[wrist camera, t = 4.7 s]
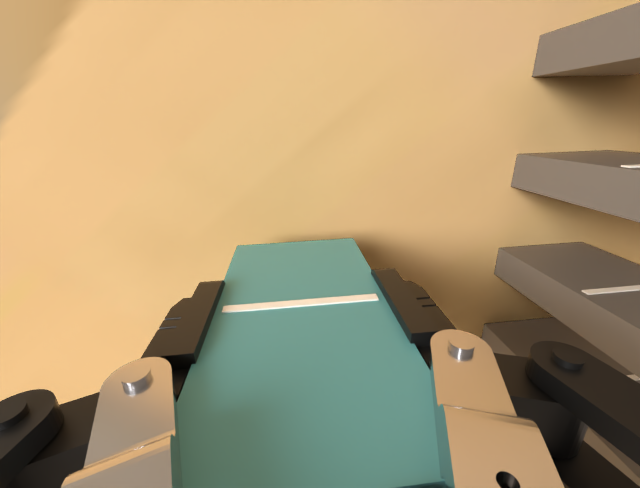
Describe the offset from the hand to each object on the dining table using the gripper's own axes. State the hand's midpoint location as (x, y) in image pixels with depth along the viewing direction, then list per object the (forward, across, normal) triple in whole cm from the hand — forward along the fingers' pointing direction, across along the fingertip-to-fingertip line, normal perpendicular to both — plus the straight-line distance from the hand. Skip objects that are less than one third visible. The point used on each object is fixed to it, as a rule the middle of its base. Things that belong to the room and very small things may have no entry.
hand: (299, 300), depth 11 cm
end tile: (+3, 0, 0) cm, 3 cm away
